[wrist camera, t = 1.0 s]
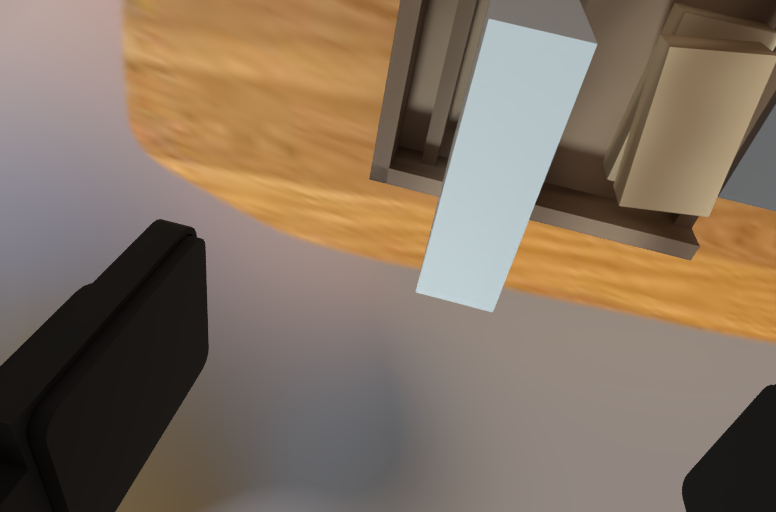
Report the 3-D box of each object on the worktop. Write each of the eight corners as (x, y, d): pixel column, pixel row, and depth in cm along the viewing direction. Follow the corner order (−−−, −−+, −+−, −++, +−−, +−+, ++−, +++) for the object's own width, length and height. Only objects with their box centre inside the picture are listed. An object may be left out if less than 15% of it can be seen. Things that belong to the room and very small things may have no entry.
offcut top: (760, 42, 20) (778, 55, 19) (697, 195, 24) (708, 217, 23) (659, 33, 21) (670, 46, 19) (613, 185, 24) (619, 206, 23)
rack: (827, -46, 21) (875, -31, 18) (673, 220, 28) (690, 260, 25) (435, -132, 21) (423, -131, 19) (384, 148, 29) (369, 179, 26)
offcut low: (764, 22, 21) (782, 34, 20) (677, 180, 26) (686, 199, 24) (674, 2, 22) (685, 12, 20) (602, 161, 26) (607, 179, 24)
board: (563, -38, 22) (597, 43, 12) (503, 147, 26) (492, 312, 17) (503, -52, 22) (488, 18, 12) (454, 135, 26) (415, 292, 17)
